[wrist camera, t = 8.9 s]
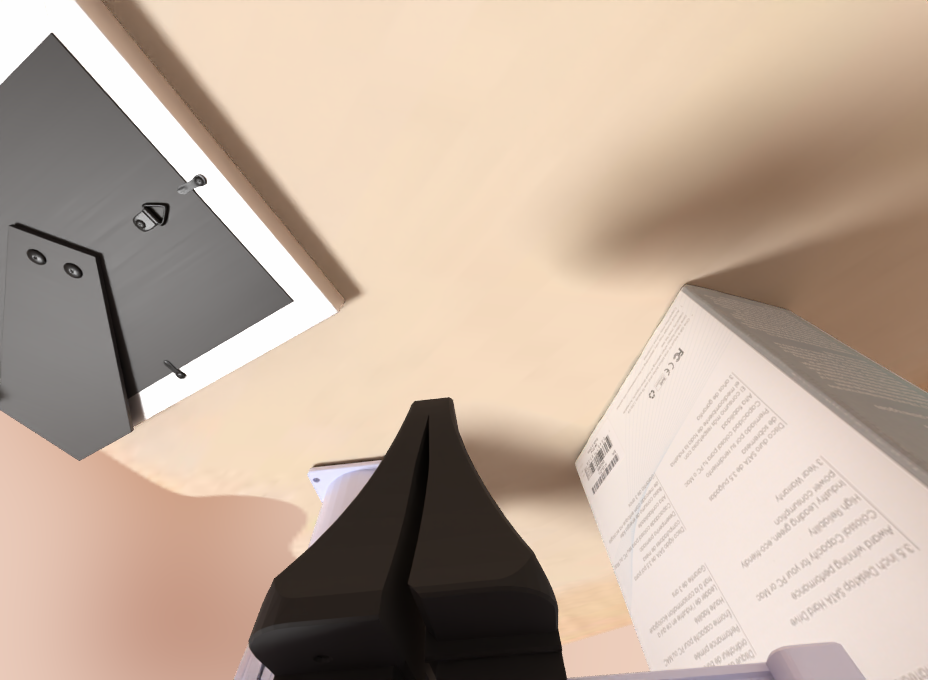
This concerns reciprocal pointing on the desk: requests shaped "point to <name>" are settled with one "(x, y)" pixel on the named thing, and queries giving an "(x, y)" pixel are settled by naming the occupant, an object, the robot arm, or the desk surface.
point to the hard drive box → (764, 493)
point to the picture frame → (124, 237)
